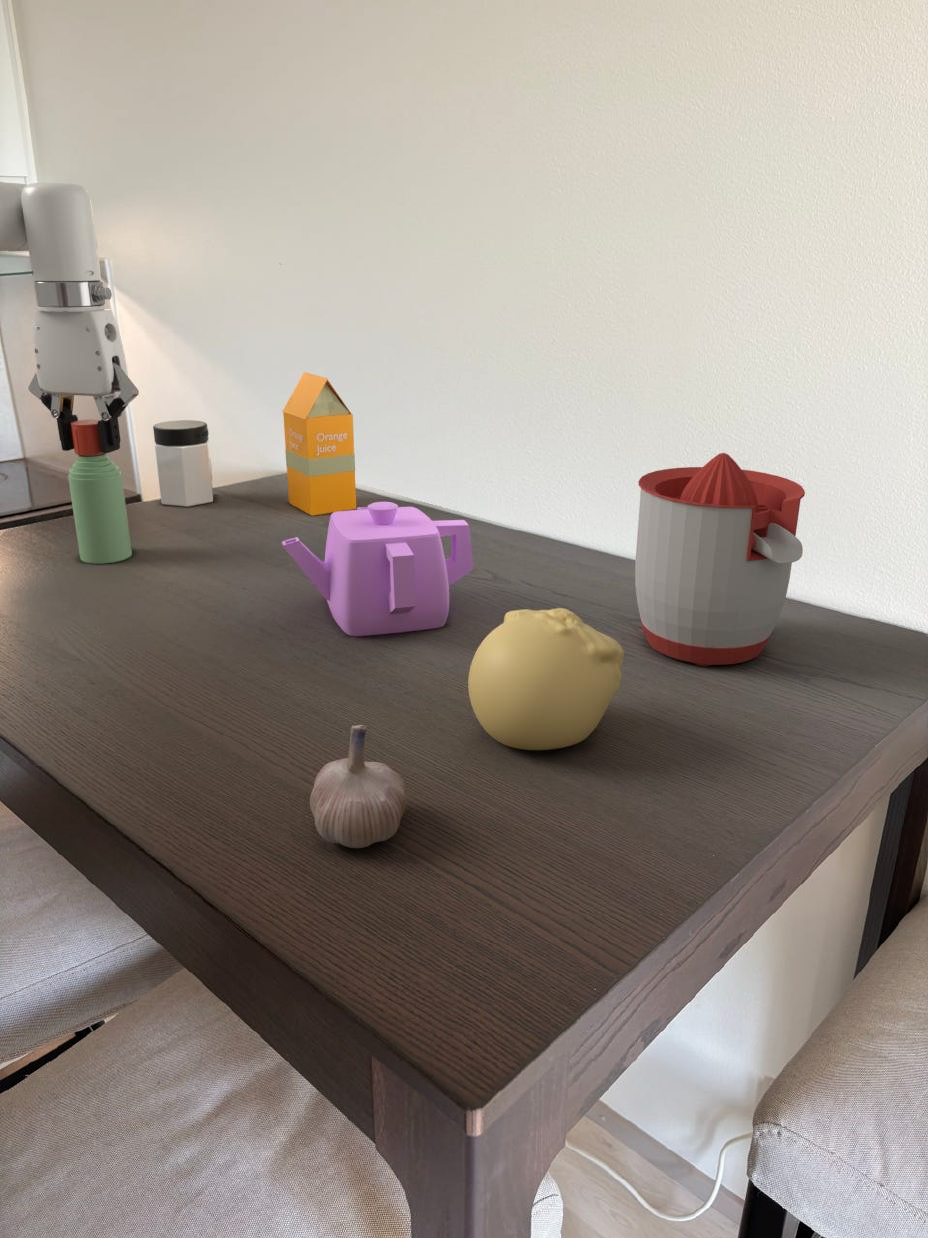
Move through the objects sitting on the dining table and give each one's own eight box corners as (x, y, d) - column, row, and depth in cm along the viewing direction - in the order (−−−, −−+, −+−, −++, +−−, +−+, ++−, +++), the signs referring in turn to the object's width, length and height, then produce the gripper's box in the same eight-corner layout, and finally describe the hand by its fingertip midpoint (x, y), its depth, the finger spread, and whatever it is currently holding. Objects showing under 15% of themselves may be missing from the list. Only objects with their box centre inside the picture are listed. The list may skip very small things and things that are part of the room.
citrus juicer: (714, 698, 87) (738, 482, 80) (596, 634, 101) (607, 446, 94) (830, 662, 94) (862, 462, 87) (705, 608, 108) (723, 431, 101)
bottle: (70, 561, 123) (49, 429, 117) (98, 547, 129) (80, 420, 122) (114, 565, 122) (96, 431, 115) (141, 550, 127) (125, 422, 121)
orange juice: (332, 496, 155) (326, 370, 147) (357, 508, 148) (352, 376, 140) (287, 503, 151) (279, 373, 143) (310, 515, 144) (303, 380, 136)
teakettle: (412, 652, 96) (410, 534, 92) (277, 622, 104) (269, 512, 99) (487, 600, 110) (488, 496, 106) (363, 577, 118) (360, 478, 113)
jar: (214, 505, 149) (207, 428, 145) (159, 508, 147) (150, 430, 143) (214, 492, 157) (208, 418, 153) (163, 494, 155) (155, 420, 151)
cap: (68, 454, 119) (64, 424, 117) (87, 448, 122) (83, 418, 121) (96, 456, 118) (92, 425, 116) (114, 450, 121) (110, 420, 120)
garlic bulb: (364, 787, 72) (361, 692, 70) (435, 824, 68) (434, 724, 65) (286, 830, 67) (278, 729, 64) (357, 873, 63) (352, 766, 60)
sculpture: (637, 732, 81) (647, 614, 77) (541, 783, 73) (546, 654, 69) (537, 689, 89) (541, 579, 85) (441, 731, 81) (441, 612, 77)
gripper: (151, 296, 115) (168, 447, 122) (28, 294, 118) (50, 440, 125) (116, 300, 108) (135, 459, 115) (-14, 297, 112) (13, 452, 118)
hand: (91, 448), depth 120 cm, fingers open, 4 cm apart
